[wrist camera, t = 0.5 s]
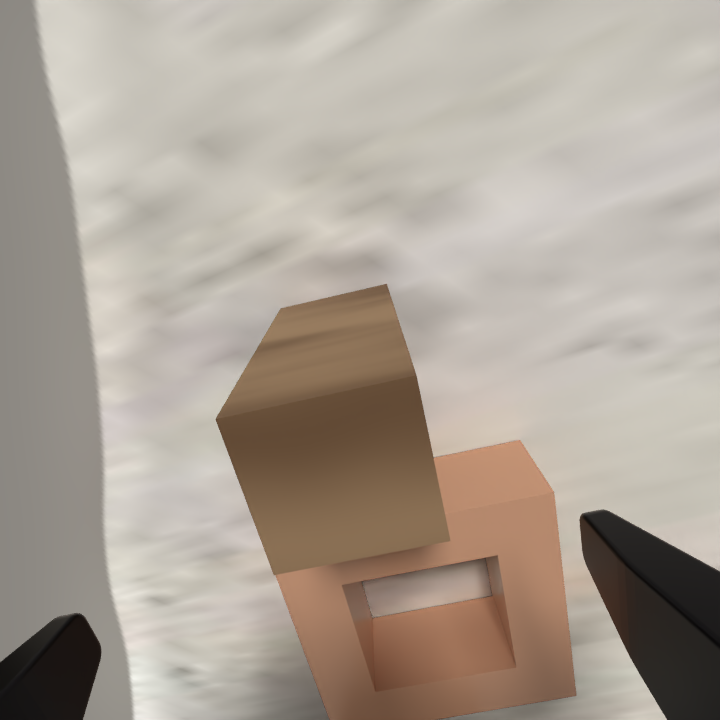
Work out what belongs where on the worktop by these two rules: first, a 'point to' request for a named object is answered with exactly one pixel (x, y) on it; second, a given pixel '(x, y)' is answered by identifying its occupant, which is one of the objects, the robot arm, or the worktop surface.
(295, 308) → the walnut peg
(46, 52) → the worktop surface
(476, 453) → the frame
